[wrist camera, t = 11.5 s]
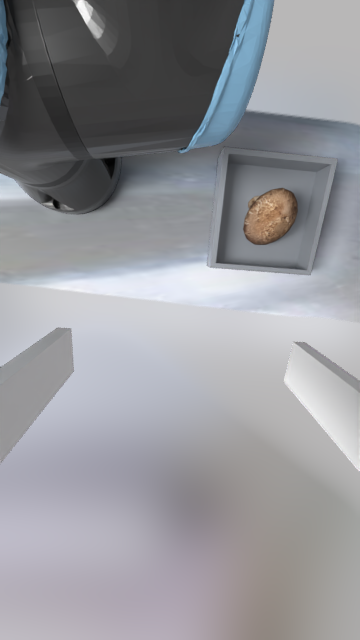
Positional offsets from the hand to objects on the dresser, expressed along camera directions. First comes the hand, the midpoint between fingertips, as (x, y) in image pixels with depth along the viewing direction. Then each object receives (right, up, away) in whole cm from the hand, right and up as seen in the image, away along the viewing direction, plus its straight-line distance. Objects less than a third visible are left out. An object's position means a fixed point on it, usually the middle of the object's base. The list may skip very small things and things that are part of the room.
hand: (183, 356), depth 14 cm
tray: (+13, +18, +23) cm, 32 cm away
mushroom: (+13, +18, +23) cm, 31 cm away
